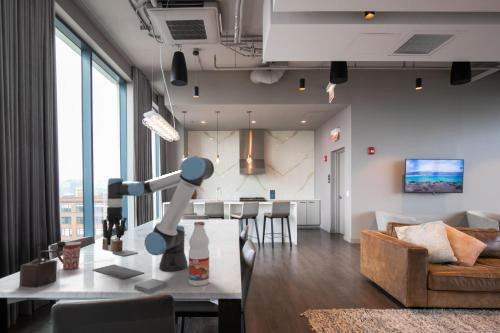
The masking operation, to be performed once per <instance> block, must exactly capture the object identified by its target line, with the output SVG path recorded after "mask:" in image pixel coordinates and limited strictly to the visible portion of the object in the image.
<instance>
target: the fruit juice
mask: <svg viewBox="0 0 500 333" xmlns="http://www.w3.org/2000/svg"><path fill="white" fill-rule="evenodd" d="M205 224H206V223H205V221H195V222H194V223H193V225H194V229H193V231H192V234H191V236H190V238H189V241H188V243H189V248H190V249H189V251H188V252H189V253H188V283H189V285H190V286H195V287H202V286H206V285H208V284H209V282H210V249H209V244H210V239H209V236H208V235H207V232H206V230H205Z"/></svg>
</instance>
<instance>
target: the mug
mask: <svg viewBox="0 0 500 333" xmlns="http://www.w3.org/2000/svg"><path fill="white" fill-rule="evenodd" d="M65 243H66V245H65V246H64V247H63V251H62V257H61V255H60V252H55V253H56V256H57V258H58V260H59V261H60V262H61V264H62V269H63V270H64V269H66V270H68V271H69V270H70V269H71V270H75V268H76V269H78V268H79V267H80V265H79V264H80V254H81V246H82V242H80V241H69V242H65ZM66 270H65V271H66Z"/></svg>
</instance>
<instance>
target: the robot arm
mask: <svg viewBox="0 0 500 333" xmlns="http://www.w3.org/2000/svg"><path fill="white" fill-rule="evenodd" d="M214 172H215V166H214V163H213V161H211V159H209V158H207V157H202V156H198V155H191V156H187V157H186V158H184V159H183V160H182V162H181V163H180V166H179V170H178V171H174V172H172V173H168V174H164V175H162V176H159V177H156V178H151V179H149V180H146V181H124V178H123V177H109V178H108V179H107V180H108V181H107V198H106V199H107V200H106V202H107V203H106V205H107V207H106V217H105V218H103V219H101V223H102V236H103V238H107V245H108V252H111V251H112V240H113V239H117V240H121V238H122V237H123V236H125V229H126V228H125V227H126V222H127V217H124V216H123V207H122V206H123V202H124V201H123V200H124V199H123V196H125V197H126V196H129V197H130V196H131V197H138V196H149V195H153V194H154V193H157V192H159V191H160V192H161V191H163V190H166V189H167V190H168V189H170V188H173V187H177V188H176V189H175V191H174V193H173V196H172V197H171V200H170V202H169V204H168V206H167V208H166V210H165V212H164V214H163V216H162V218H161V221H160V222H157V223H156V224H155V225H154V228H153V230H152V231H151V232H149V233H148V234H146V236H145V238H144V247H145V249H146V251H147V253H149V254H150V255H151V256H160V255H162V256H161V258H160V262H159V263H158V266H159V267H158V269H159V270H161V271H163V272H164V271H165V272H169V271H170V272H173V271H181V270H184V269H186V268H187V267H188V261H187V260H188V259H187V256H186V253H185V238H186V237H185V235H186V234H185V232H186V231H185V226H183V225H179V224H180V222H181V220H182V218H183V216H184V215H185V214H184V213H185V211H186V209H187V207H188V205H189V204H190V201H191V199H192V197H193V195H194V193H195V192H196V189H198V188H200V187H201V186H202V184H203V181H205V180H208V179H210V178H211V177H212V176H213V175H214ZM114 227H115V229H114ZM113 229H114V230H115V237H114V238H113V239H111V238H112V235H113Z"/></svg>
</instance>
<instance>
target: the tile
mask: <svg viewBox="0 0 500 333" xmlns="http://www.w3.org/2000/svg"><path fill="white" fill-rule="evenodd" d="M167 287H168V282H167V281H165V280H164V281H163V280H160V279H157V278H150V279H147V280H145V281H140V282H138V283H134V288H133V289H134V290H138V291H141V292H144V293H147V294H151V293H153V292H155V291H159V290H161V289H164V288H167Z"/></svg>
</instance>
